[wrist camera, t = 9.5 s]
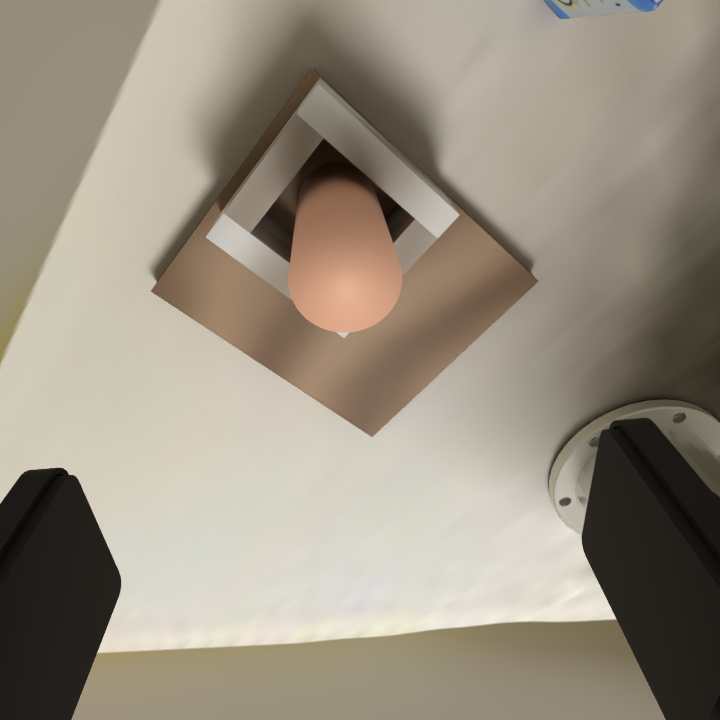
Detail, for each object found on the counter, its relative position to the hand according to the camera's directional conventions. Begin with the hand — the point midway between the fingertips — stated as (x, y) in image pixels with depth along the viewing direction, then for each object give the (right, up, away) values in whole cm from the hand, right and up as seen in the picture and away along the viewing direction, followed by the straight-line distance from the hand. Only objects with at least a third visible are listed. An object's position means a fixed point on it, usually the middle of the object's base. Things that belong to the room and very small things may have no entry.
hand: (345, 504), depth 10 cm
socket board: (-1, +7, +21) cm, 22 cm away
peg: (-1, +11, +18) cm, 21 cm away
